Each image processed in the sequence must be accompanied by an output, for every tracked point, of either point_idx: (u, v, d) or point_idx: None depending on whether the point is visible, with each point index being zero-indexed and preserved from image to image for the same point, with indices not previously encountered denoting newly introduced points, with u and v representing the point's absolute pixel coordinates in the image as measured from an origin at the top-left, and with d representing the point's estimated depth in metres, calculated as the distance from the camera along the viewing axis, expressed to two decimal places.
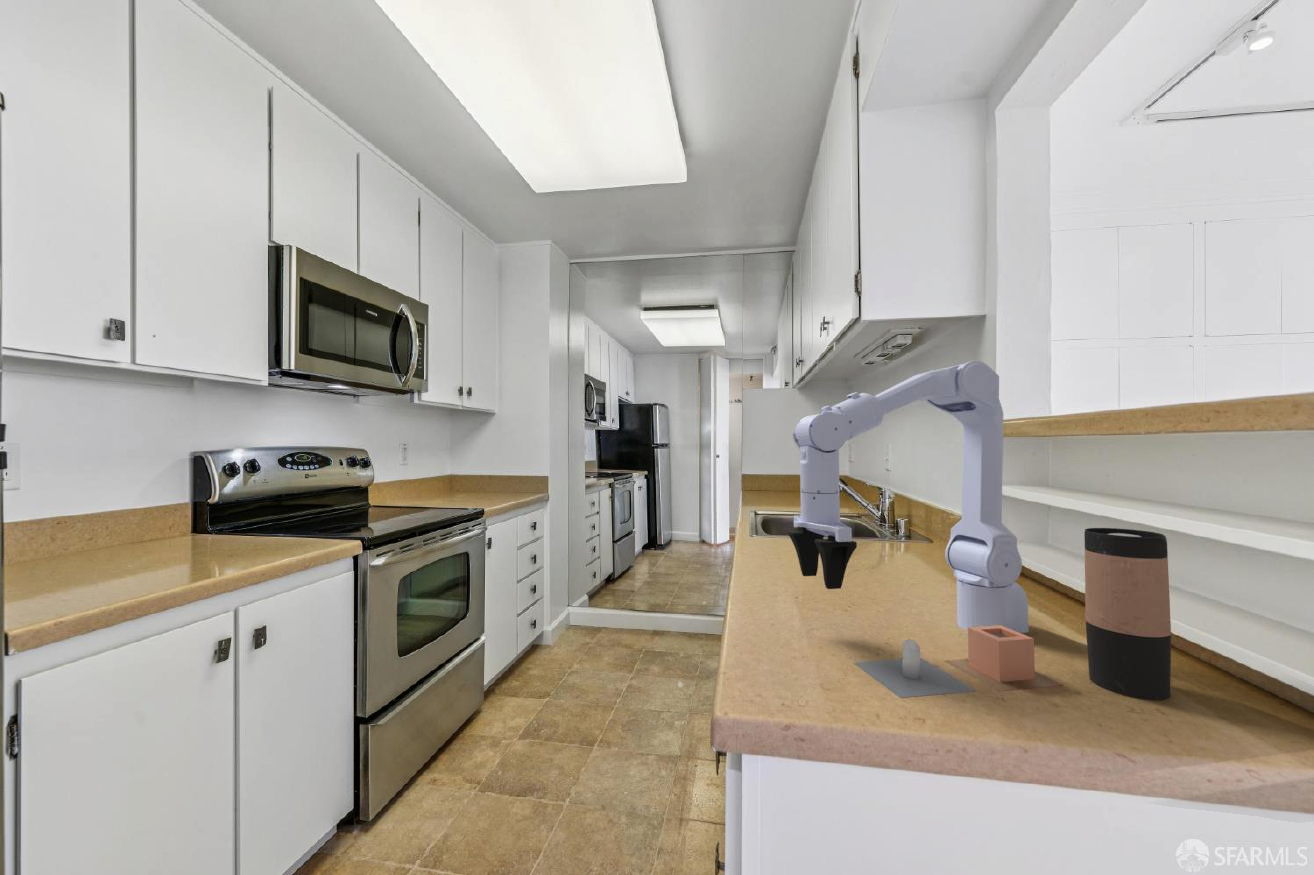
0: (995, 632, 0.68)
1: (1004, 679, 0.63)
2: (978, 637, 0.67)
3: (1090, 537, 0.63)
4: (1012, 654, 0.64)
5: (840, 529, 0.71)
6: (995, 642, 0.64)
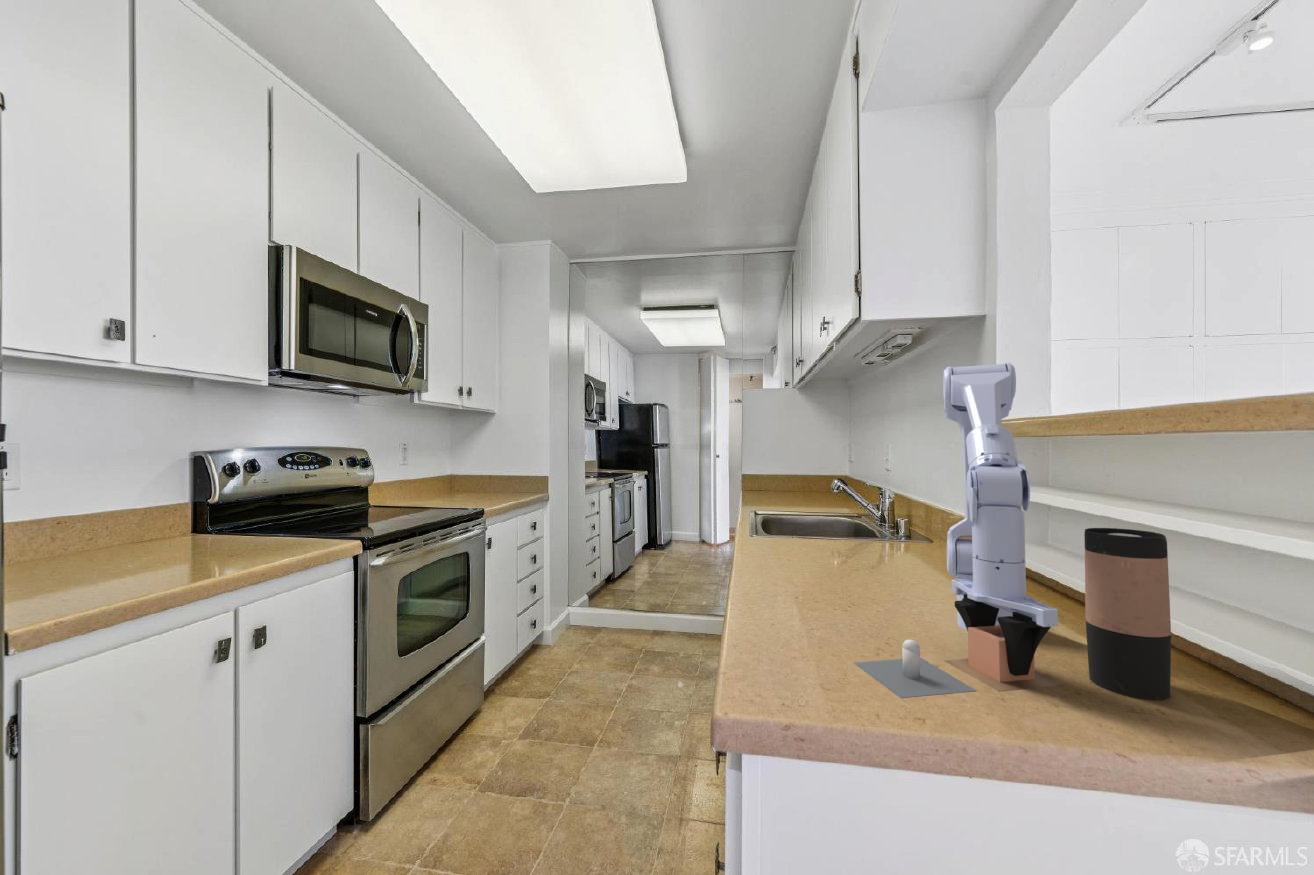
0: (995, 632, 0.68)
1: (1004, 679, 0.63)
2: (978, 637, 0.67)
3: (1090, 537, 0.63)
4: None
5: (1045, 611, 0.59)
6: (995, 642, 0.64)
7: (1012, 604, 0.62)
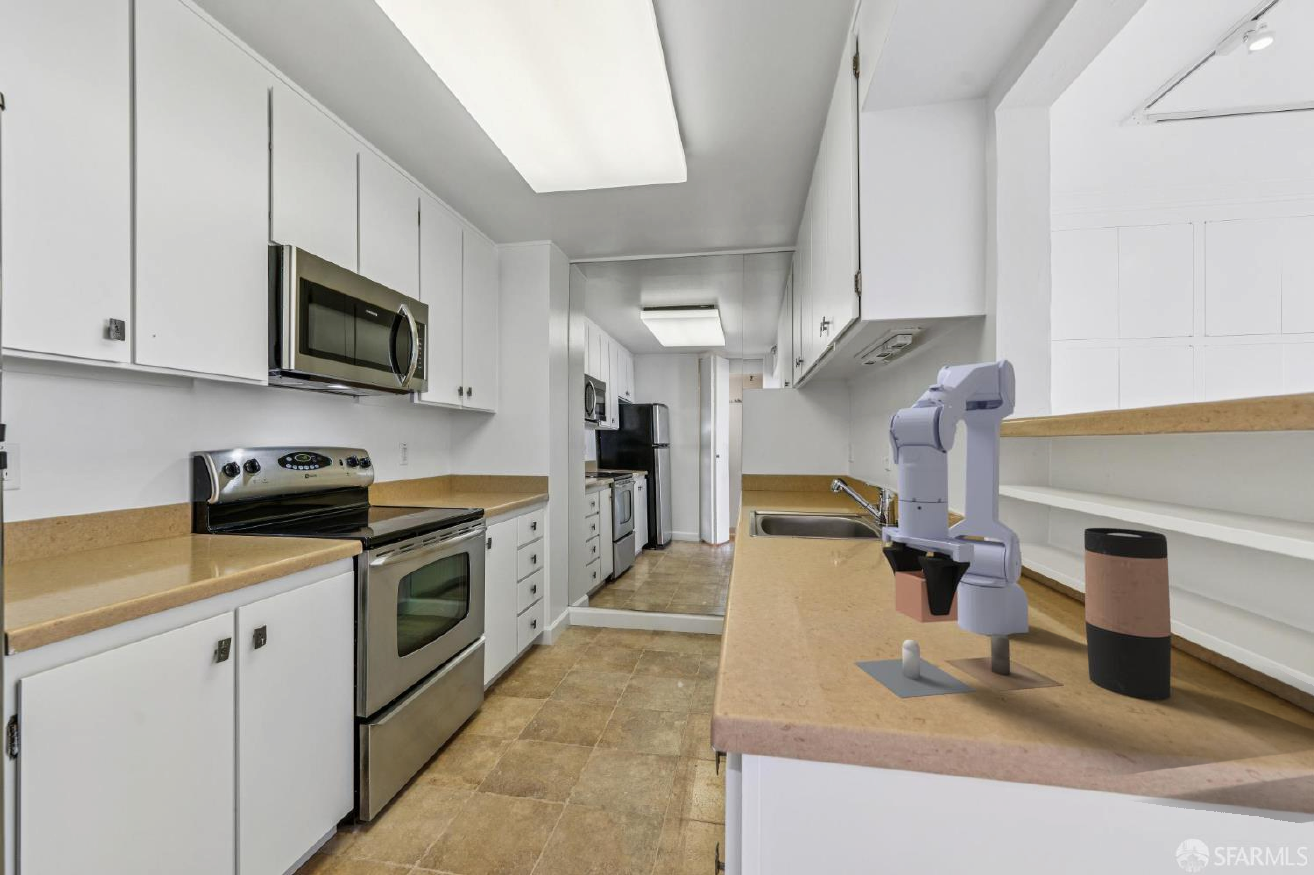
0: (922, 576, 0.67)
1: (926, 620, 0.63)
2: (904, 580, 0.66)
3: (1090, 537, 0.63)
4: None
5: (961, 546, 0.58)
6: (918, 583, 0.63)
7: (931, 542, 0.61)
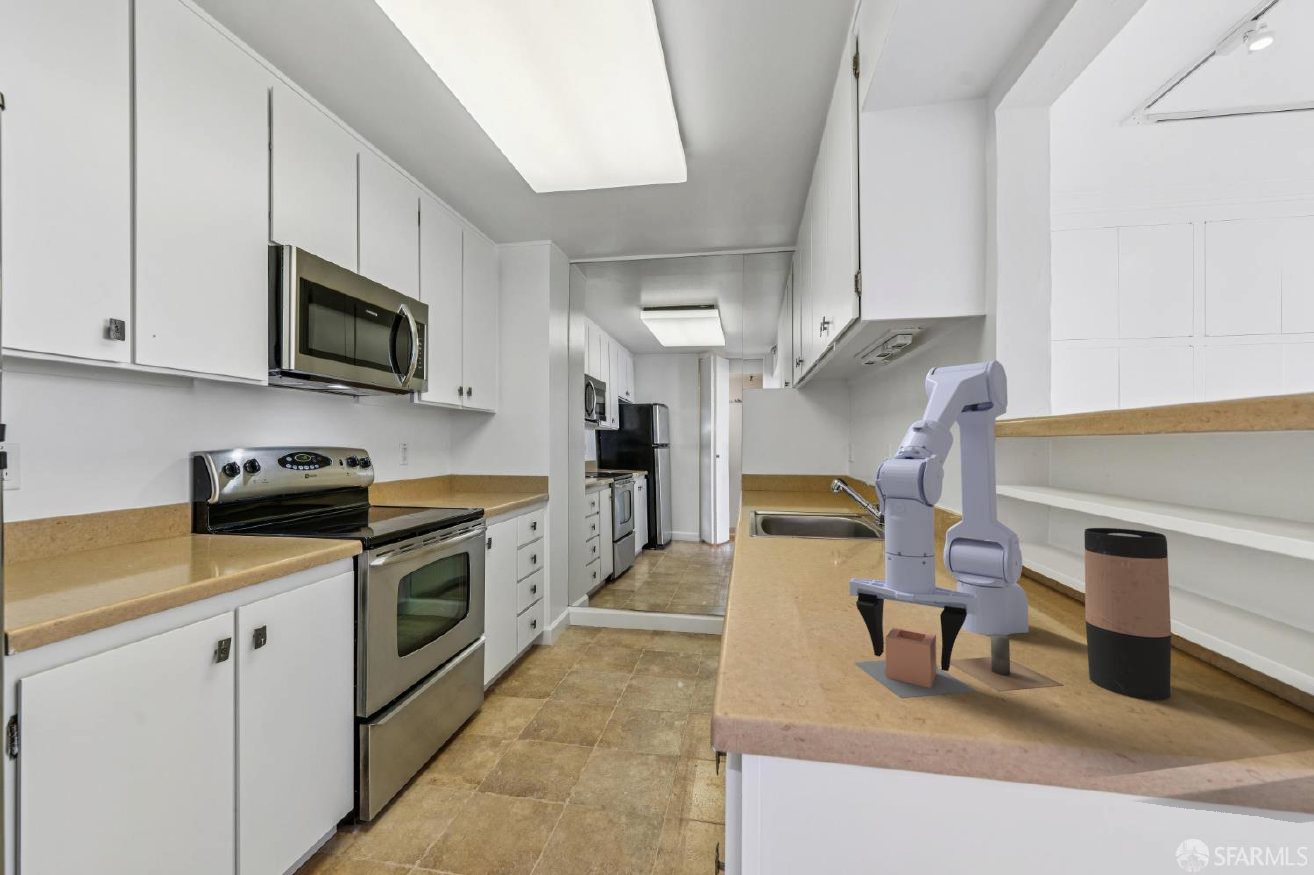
0: (899, 635, 0.67)
1: (931, 683, 0.62)
2: (900, 645, 0.64)
3: (1090, 537, 0.63)
4: (932, 655, 0.63)
5: (976, 599, 0.61)
6: (925, 647, 0.62)
7: (942, 597, 0.62)
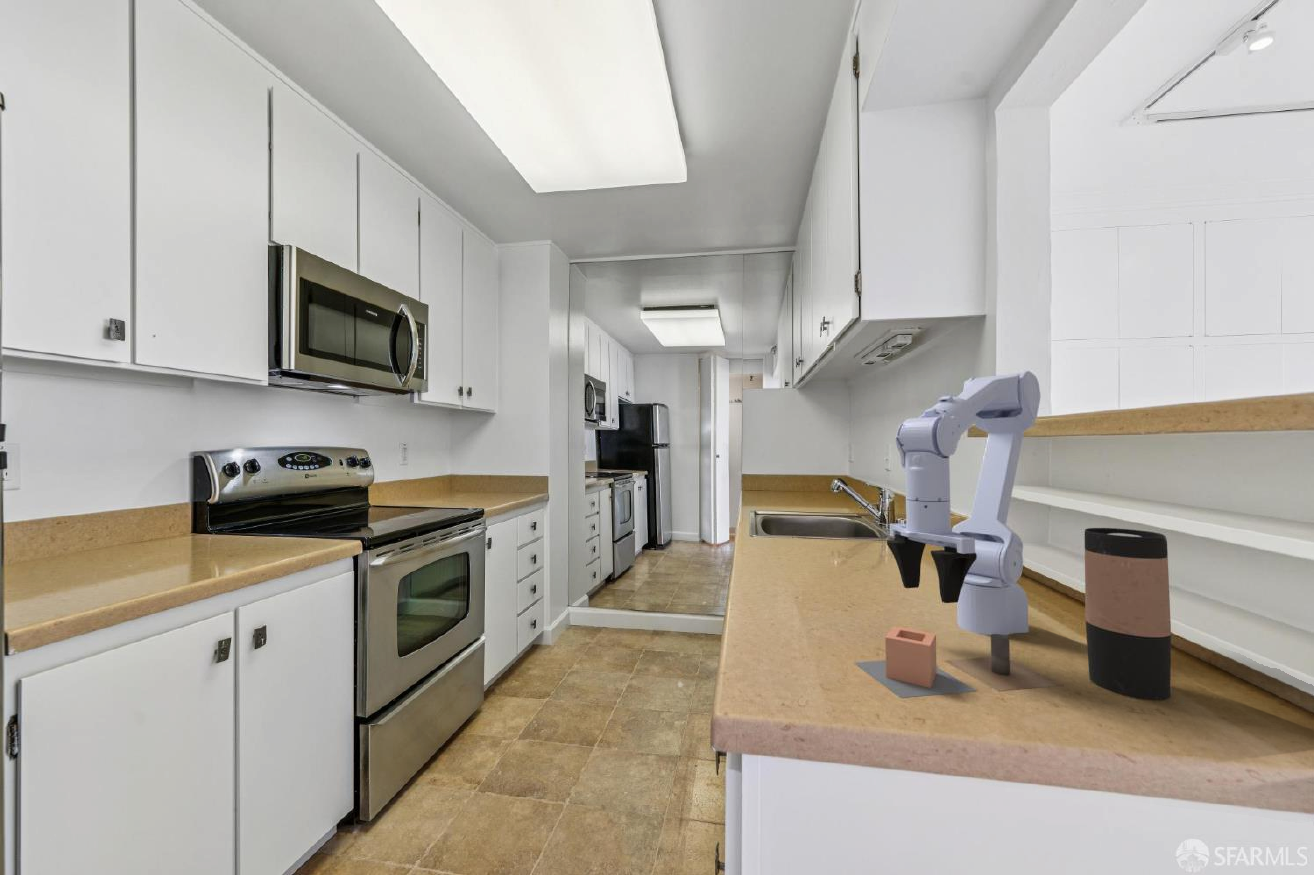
0: (899, 635, 0.67)
1: (931, 683, 0.62)
2: (900, 645, 0.64)
3: (1090, 537, 0.63)
4: (932, 655, 0.63)
5: (964, 540, 0.67)
6: (925, 647, 0.62)
7: (937, 537, 0.70)
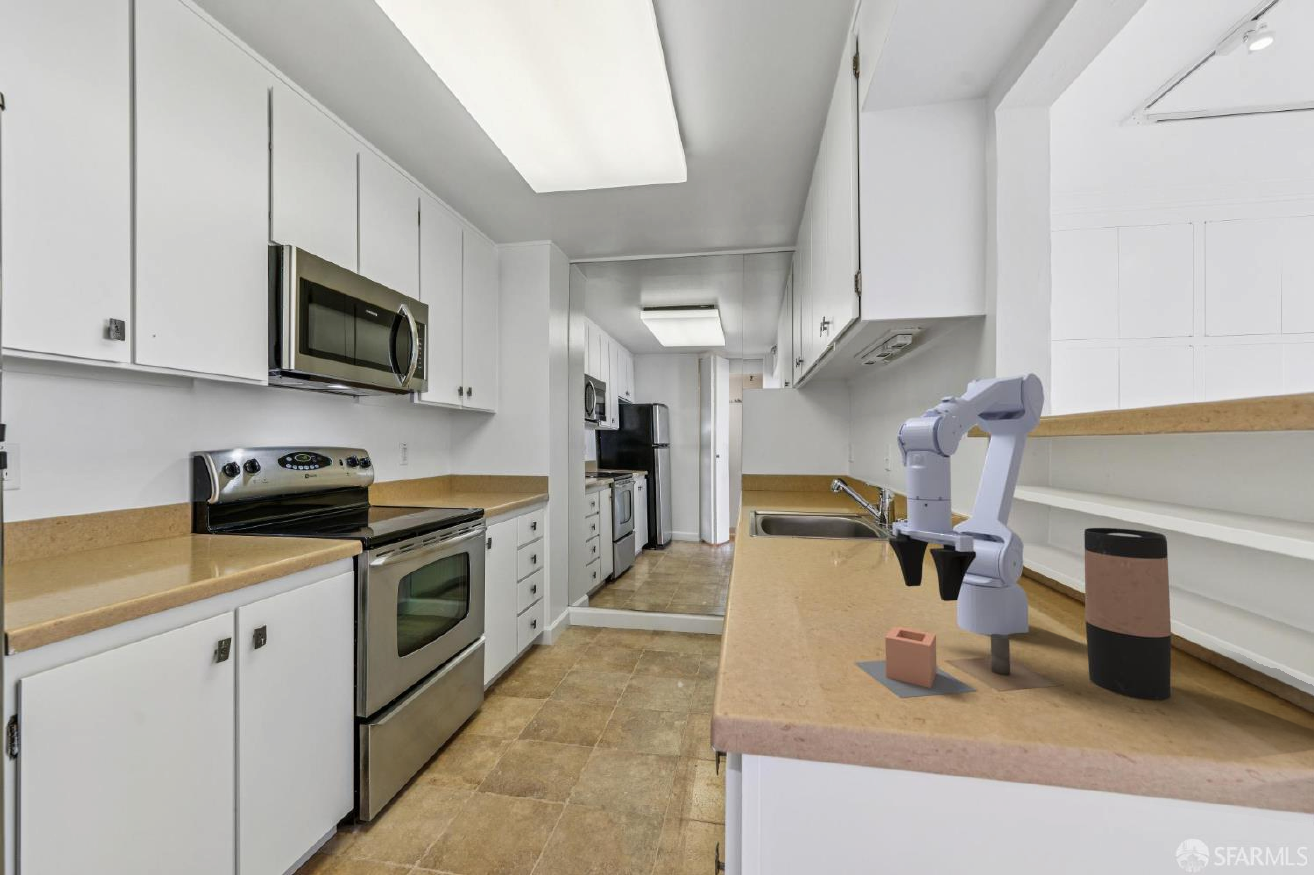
0: (899, 635, 0.67)
1: (931, 683, 0.62)
2: (900, 645, 0.64)
3: (1090, 537, 0.63)
4: (932, 655, 0.63)
5: (962, 538, 0.68)
6: (925, 647, 0.62)
7: (936, 535, 0.71)
